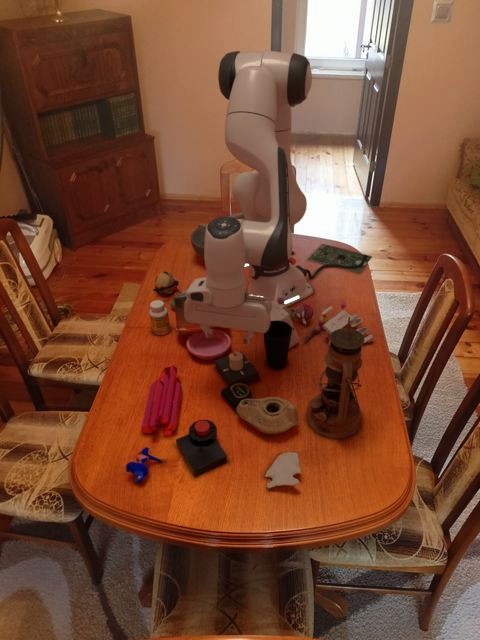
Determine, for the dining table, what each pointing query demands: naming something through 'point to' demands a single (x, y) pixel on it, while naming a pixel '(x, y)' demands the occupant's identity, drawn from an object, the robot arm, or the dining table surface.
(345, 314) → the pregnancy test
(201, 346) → the saucer
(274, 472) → the arrowhead
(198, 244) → the bowl
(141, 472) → the figurine
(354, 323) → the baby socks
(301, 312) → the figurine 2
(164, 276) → the toy
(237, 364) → the dial knob
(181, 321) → the food container
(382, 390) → the dining table surface
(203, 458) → the button box
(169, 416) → the crystal
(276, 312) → the ink box
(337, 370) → the lantern
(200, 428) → the red button
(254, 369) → the dial panel
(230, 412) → the dining table surface
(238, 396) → the tape measure
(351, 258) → the circuit board
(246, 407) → the oil lamp
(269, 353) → the cup
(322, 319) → the candy
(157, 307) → the supplement bottle
